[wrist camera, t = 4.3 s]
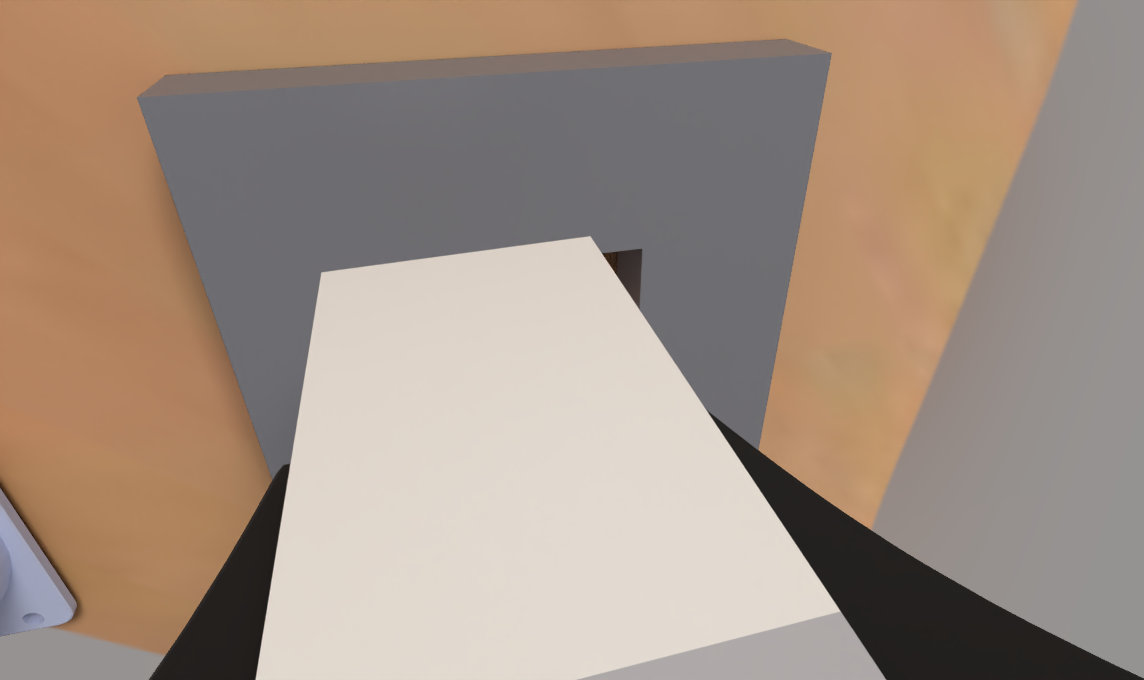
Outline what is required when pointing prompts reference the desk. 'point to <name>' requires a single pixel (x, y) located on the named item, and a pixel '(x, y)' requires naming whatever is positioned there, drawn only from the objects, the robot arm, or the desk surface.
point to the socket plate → (500, 192)
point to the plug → (525, 494)
